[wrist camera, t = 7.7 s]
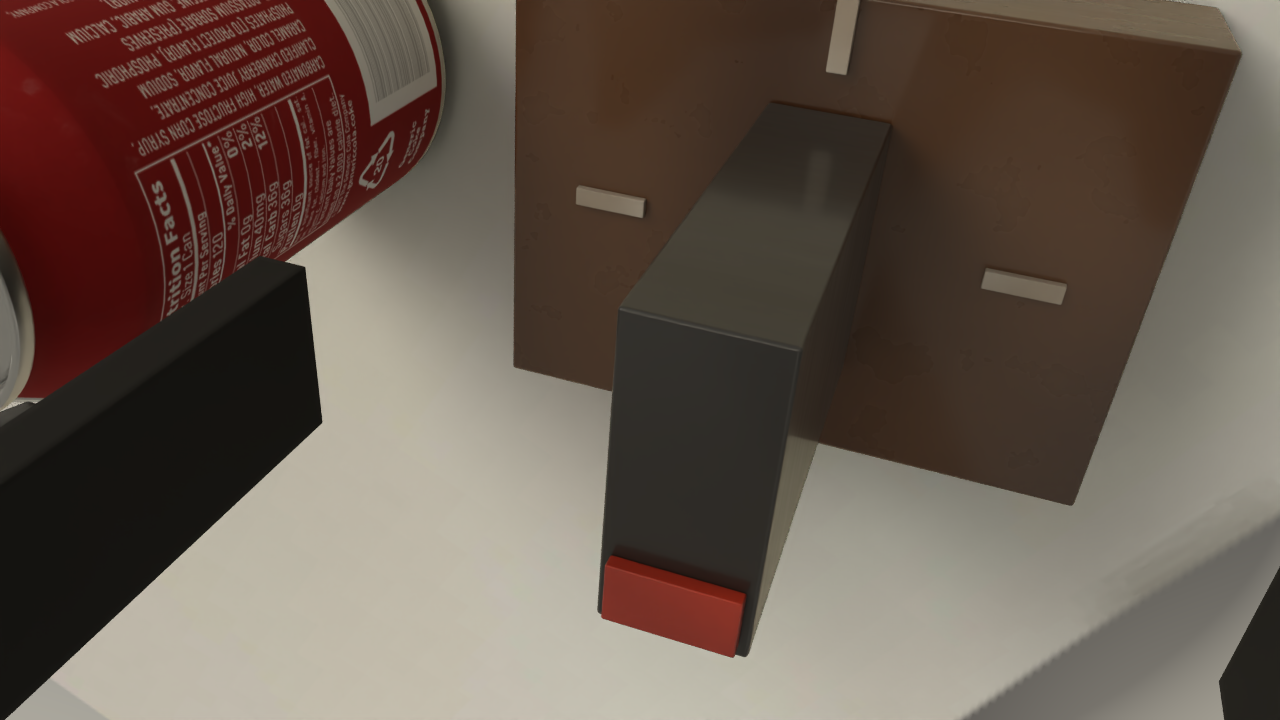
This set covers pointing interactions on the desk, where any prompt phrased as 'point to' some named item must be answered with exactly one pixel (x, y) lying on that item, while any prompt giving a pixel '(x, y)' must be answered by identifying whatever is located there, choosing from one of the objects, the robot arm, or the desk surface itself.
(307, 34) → the soda can
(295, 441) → the robot arm
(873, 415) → the panel
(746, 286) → the dark grey block
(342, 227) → the desk surface
